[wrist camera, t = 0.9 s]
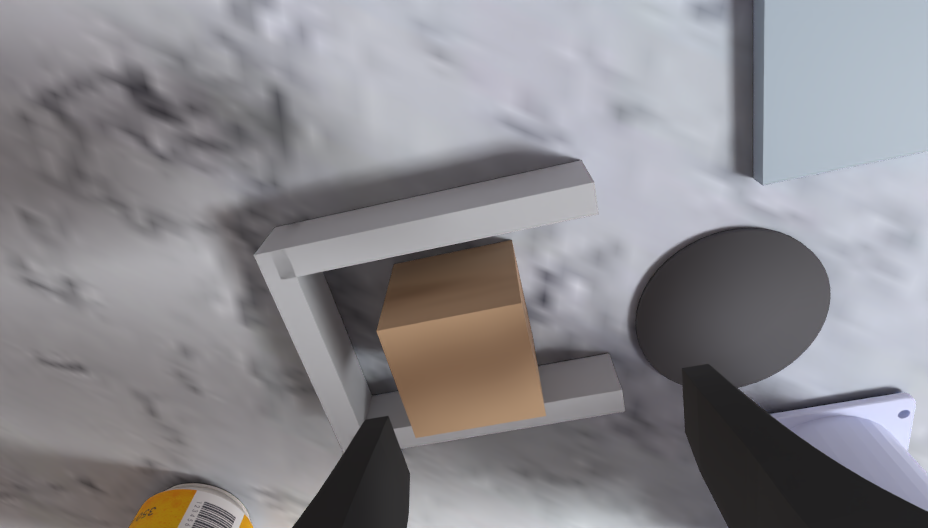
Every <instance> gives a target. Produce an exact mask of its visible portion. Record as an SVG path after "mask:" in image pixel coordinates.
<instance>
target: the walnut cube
mask: <svg viewBox="0 0 928 528" xmlns="http://www.w3.org/2000/svg"><path fill="white" fill-rule="evenodd" d="M377 334H378V337H379V340H380V342H381V345H382V348H383V350H384V353H385V356H386V359H387V361H388V364H389V367H390V370H391V372H392V375H393V378H394V380H395V383H396V386H397V389H398V391H399V394H400V397H401V399H402V402H403V405H404V408H405V410H406V413H407V416H408V419H409V421H410V424H411V427H412V429H413V432H414V435H415V438H419V437H425V436H431V435H437V434H443V433H449V432H455V431H461V430H466V429H472V428H478V427H484V426H490V425H496V424H502V423H508V422H514V421H520V420H526V419H532V418H537V417H543V416H546V412H545V406H544V400H543V394H542V388H541V382H540V376H539V370H538V365H537V359H536V353H535V347H534V341H533V336H532V331H531V327H530V322H529V317H528V313H527V308H526V303H525V299H524V294H523V290H522V285H521V280H520V276H519V271H518V266H517V262H516V257H515V253H514V248H513V243H512V240H509V241H504V242H499V243H494V244H489V245H484V246H479V247H475V248H470V249H465V250H460V251H455V252H450V253H446V254H441V255H436V256H431V257H426V258H421V259H417V260H412V261H407V262H402V263H397V264H394V265H393V269H392V273H391V277H390V281H389V285H388V288H387V292H386V296H385V300H384V304H383V308H382V311H381V315H380V319H379V323H378V327H377Z"/></svg>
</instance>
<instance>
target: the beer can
mask: <svg viewBox="0 0 928 528" xmlns="http://www.w3.org/2000/svg"><path fill="white" fill-rule="evenodd" d="M129 528H253V525H252V523H251V521H250V517H249V514H248V511H247V509H246V508H245V506H244V505H243V504H242V503H241V502H240V501H239V500H238V499H237V498H236V497H235V496H233V495H232V494H230V493H228V492H227V491H225V490H222V489H220V488H217V487H214V486H211V485H206V484H200V483H186V484H180V485H176V486H173V487H171V488H169V489H167V490H166V491H163V492H160V493H158V494H155V495H153V496H152V497H150V498H149V499H148V500H147V501H145V503H144V504H143V505H142V506H141V508H140V510H139V511H138V513H137V515H136V516H135V518H134V520H133V521H132V523H131V524H130V526H129Z"/></svg>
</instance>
